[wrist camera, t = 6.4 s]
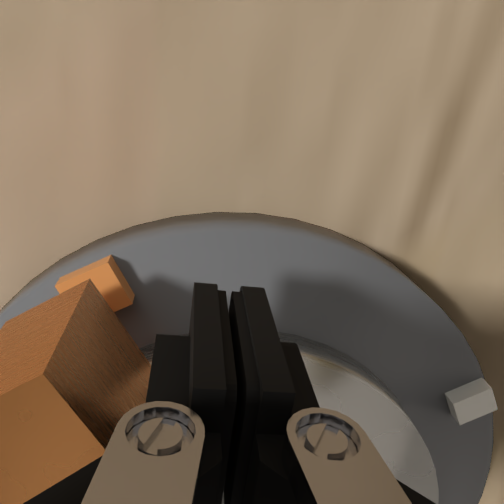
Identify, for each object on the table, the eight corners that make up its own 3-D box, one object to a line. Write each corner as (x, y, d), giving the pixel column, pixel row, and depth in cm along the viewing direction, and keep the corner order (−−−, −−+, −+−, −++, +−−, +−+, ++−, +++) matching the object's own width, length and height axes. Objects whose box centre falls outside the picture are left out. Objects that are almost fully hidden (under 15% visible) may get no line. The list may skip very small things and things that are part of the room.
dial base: (119, 677, 23) (111, 748, 21) (-178, 362, 16) (-245, 415, 13) (507, 519, 22) (545, 573, 20) (385, 110, 15) (422, 118, 13)
